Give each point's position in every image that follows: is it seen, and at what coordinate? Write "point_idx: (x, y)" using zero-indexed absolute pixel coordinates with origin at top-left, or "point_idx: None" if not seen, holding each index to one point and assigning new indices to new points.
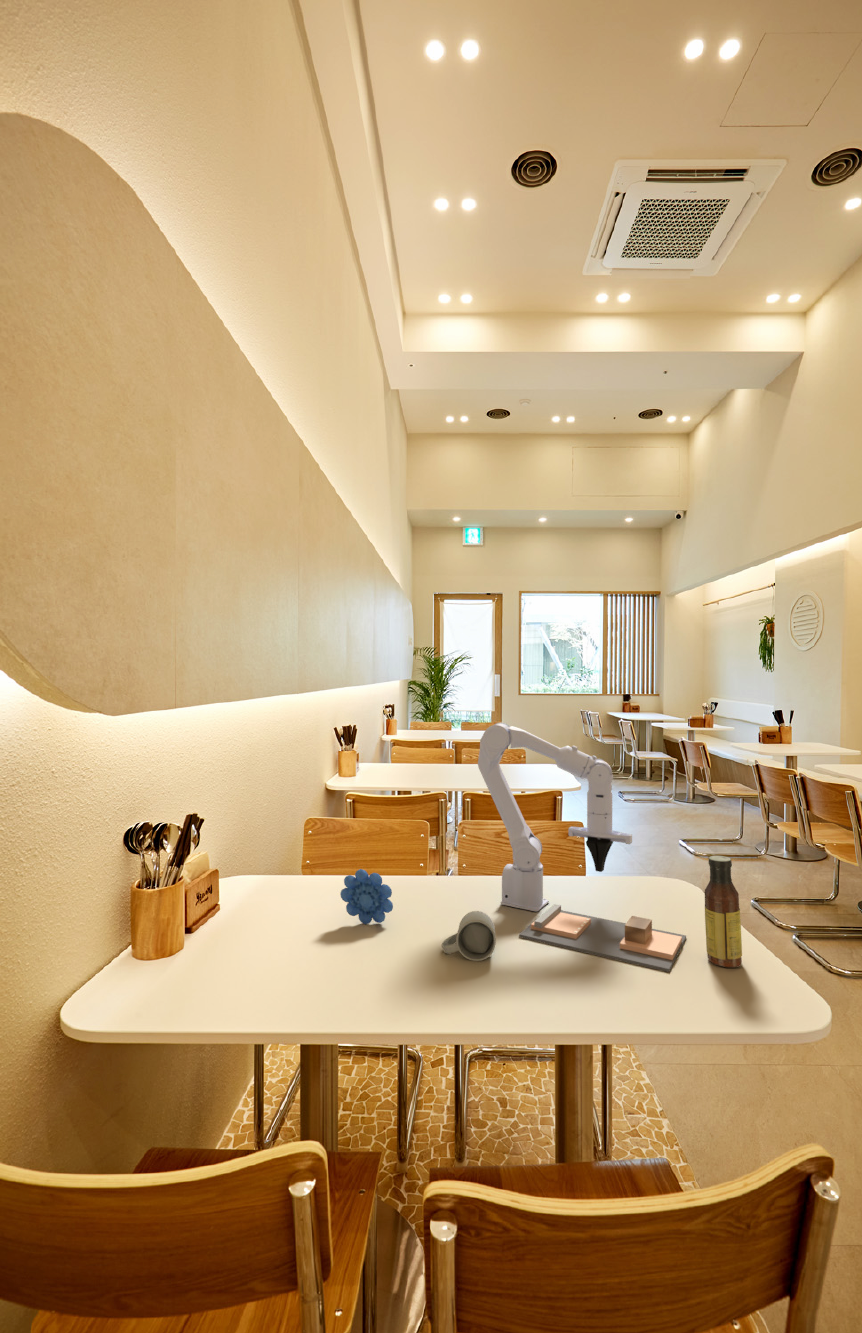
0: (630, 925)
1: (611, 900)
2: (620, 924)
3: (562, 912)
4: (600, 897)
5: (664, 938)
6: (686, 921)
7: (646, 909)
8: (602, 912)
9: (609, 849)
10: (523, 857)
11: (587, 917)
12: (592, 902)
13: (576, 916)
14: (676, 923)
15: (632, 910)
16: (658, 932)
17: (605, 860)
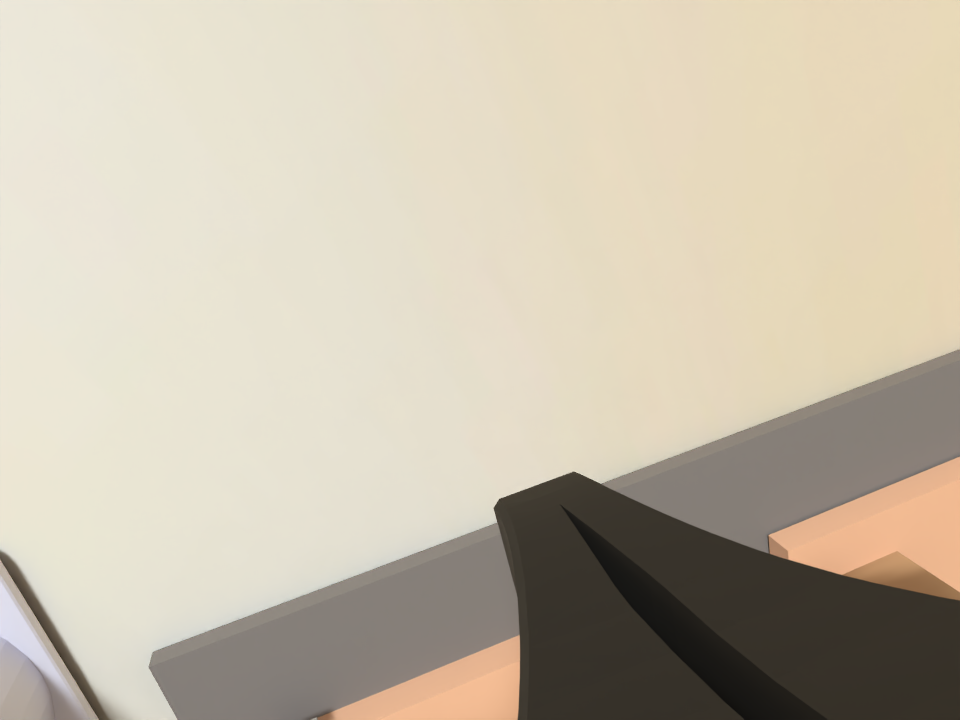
0: None
1: (349, 26)
2: (678, 500)
3: (286, 652)
4: (215, 21)
5: (955, 543)
6: (955, 59)
7: (680, 24)
8: (458, 366)
9: (934, 611)
10: None
11: (470, 579)
12: (258, 225)
13: (461, 700)
14: (910, 152)
15: (606, 140)
16: (919, 504)
17: (674, 522)
